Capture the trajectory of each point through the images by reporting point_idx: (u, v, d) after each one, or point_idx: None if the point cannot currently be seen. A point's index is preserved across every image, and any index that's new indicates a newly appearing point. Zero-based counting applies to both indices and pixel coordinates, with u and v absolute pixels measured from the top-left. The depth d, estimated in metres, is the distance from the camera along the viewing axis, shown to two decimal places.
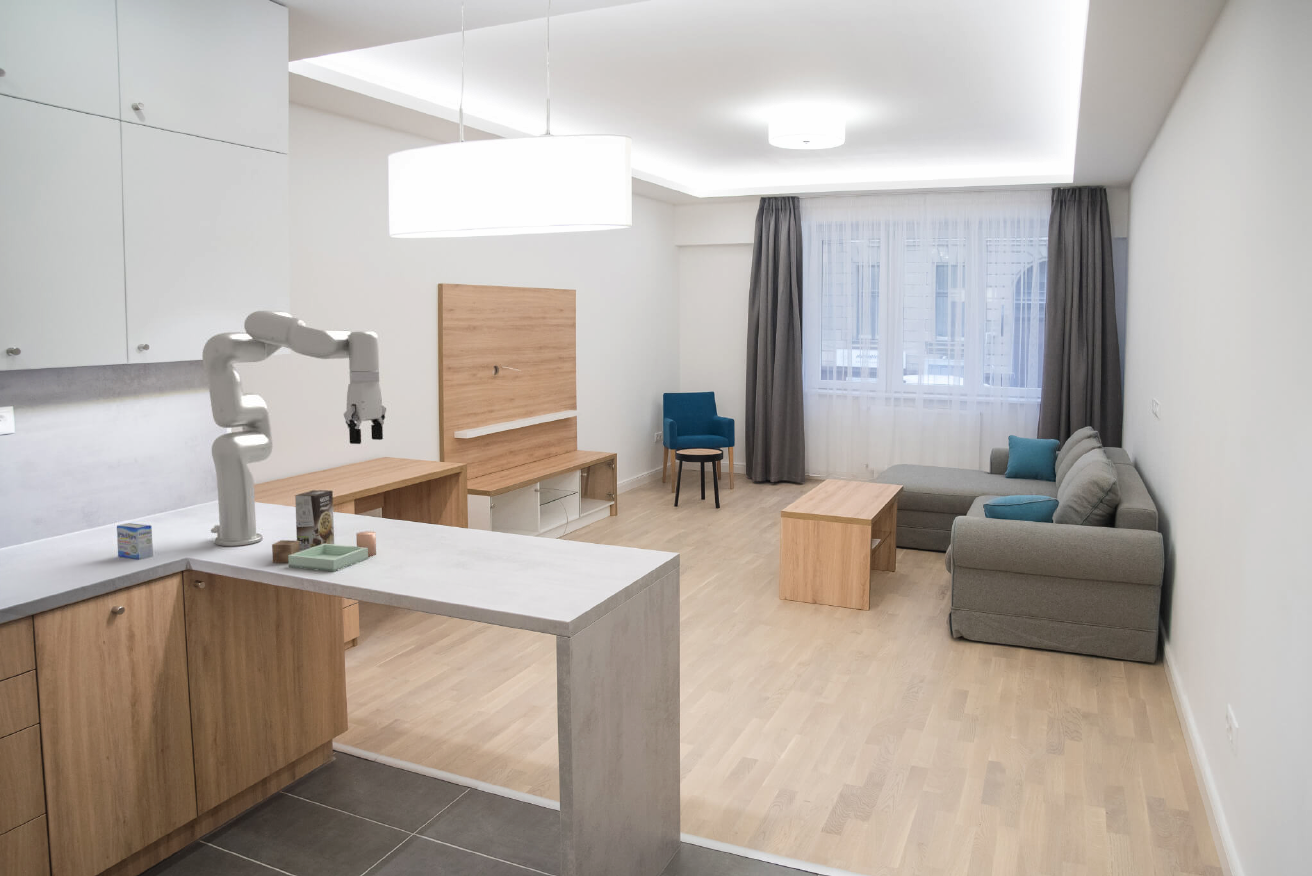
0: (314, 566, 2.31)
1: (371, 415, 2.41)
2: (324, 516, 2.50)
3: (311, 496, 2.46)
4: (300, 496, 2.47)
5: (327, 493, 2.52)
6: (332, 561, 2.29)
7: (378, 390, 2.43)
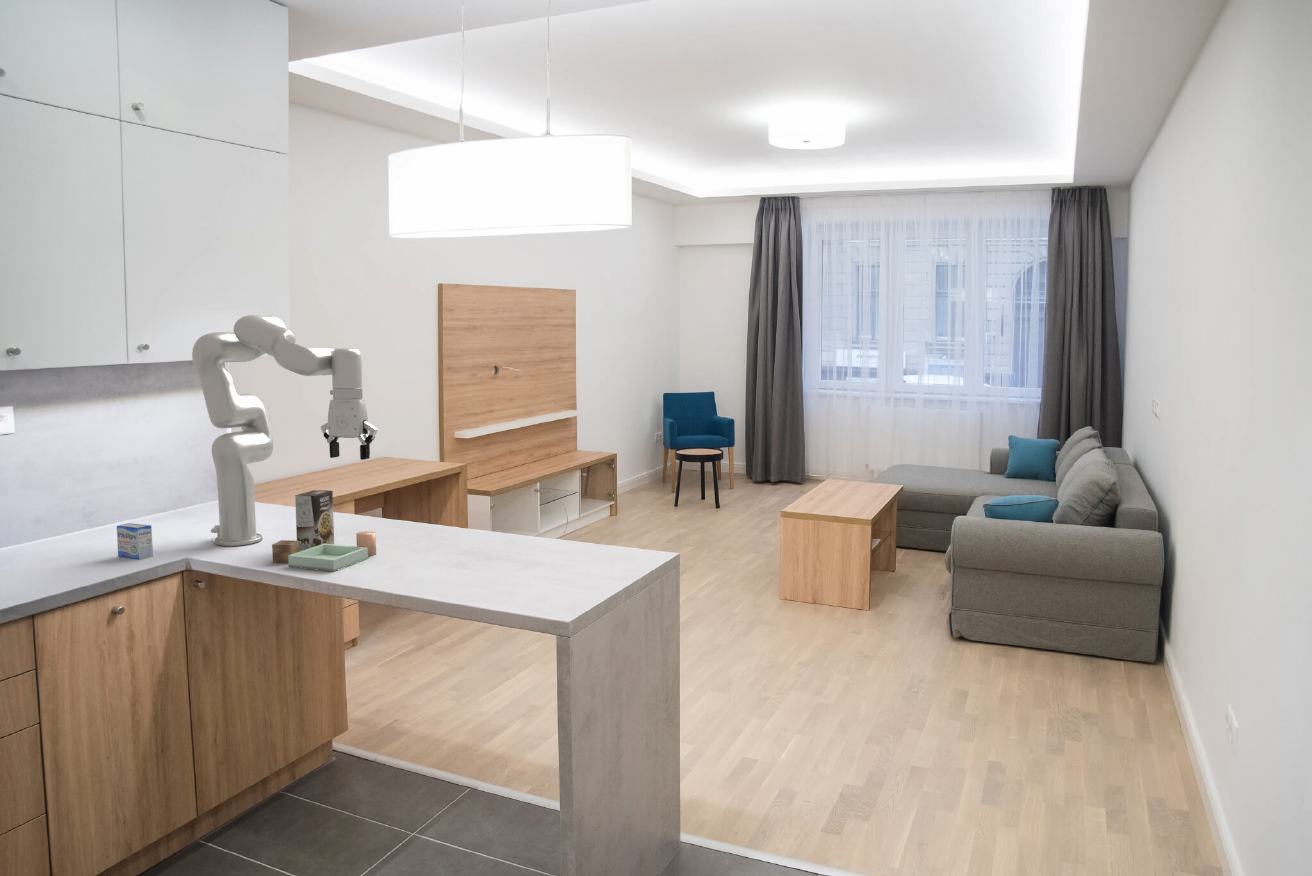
0: (314, 566, 2.31)
1: None
2: (324, 516, 2.50)
3: (311, 496, 2.46)
4: (300, 496, 2.47)
5: (327, 493, 2.52)
6: (332, 561, 2.29)
7: None
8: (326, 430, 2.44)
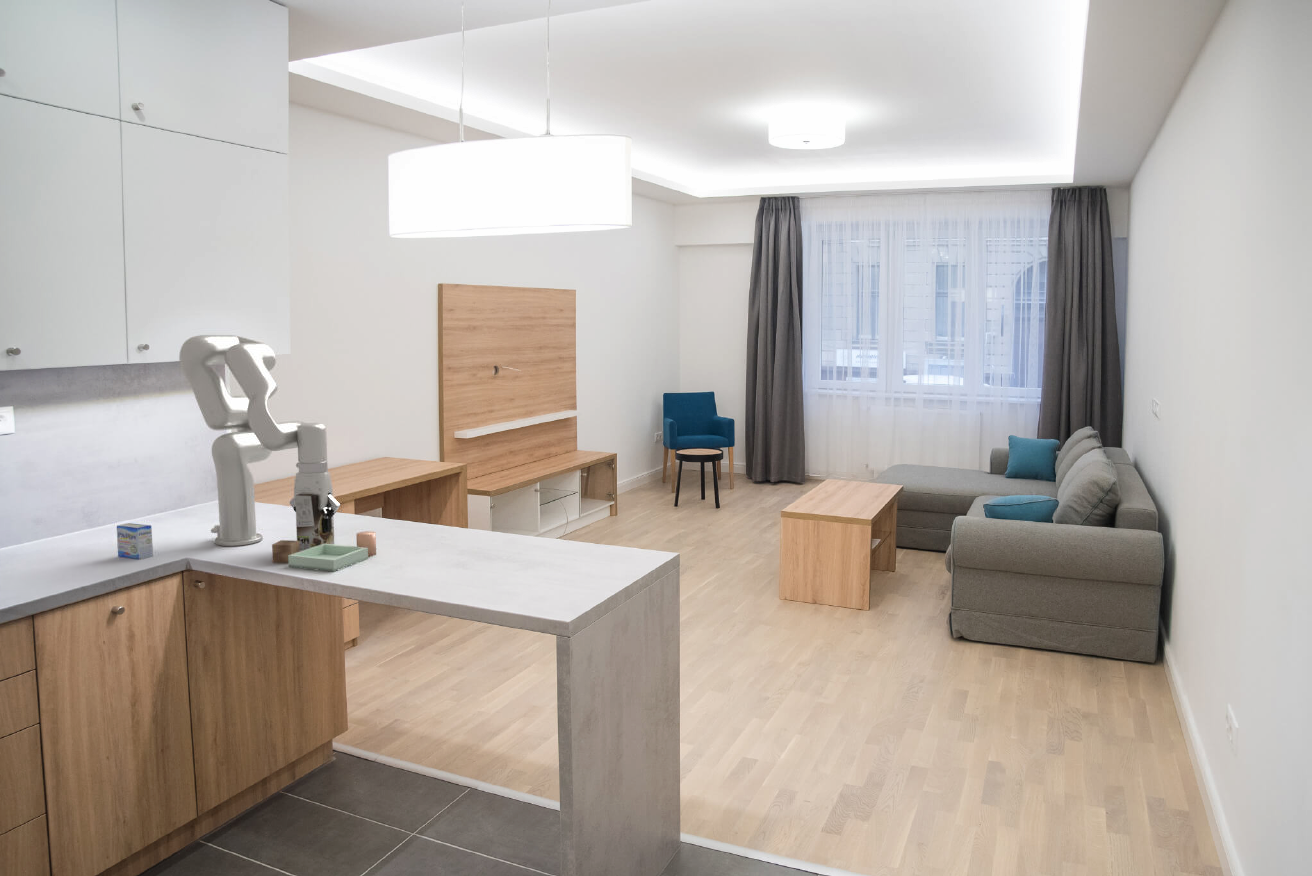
0: (314, 566, 2.31)
1: None
2: None
3: (311, 496, 2.46)
4: (300, 496, 2.47)
5: None
6: (332, 561, 2.29)
7: None
8: None
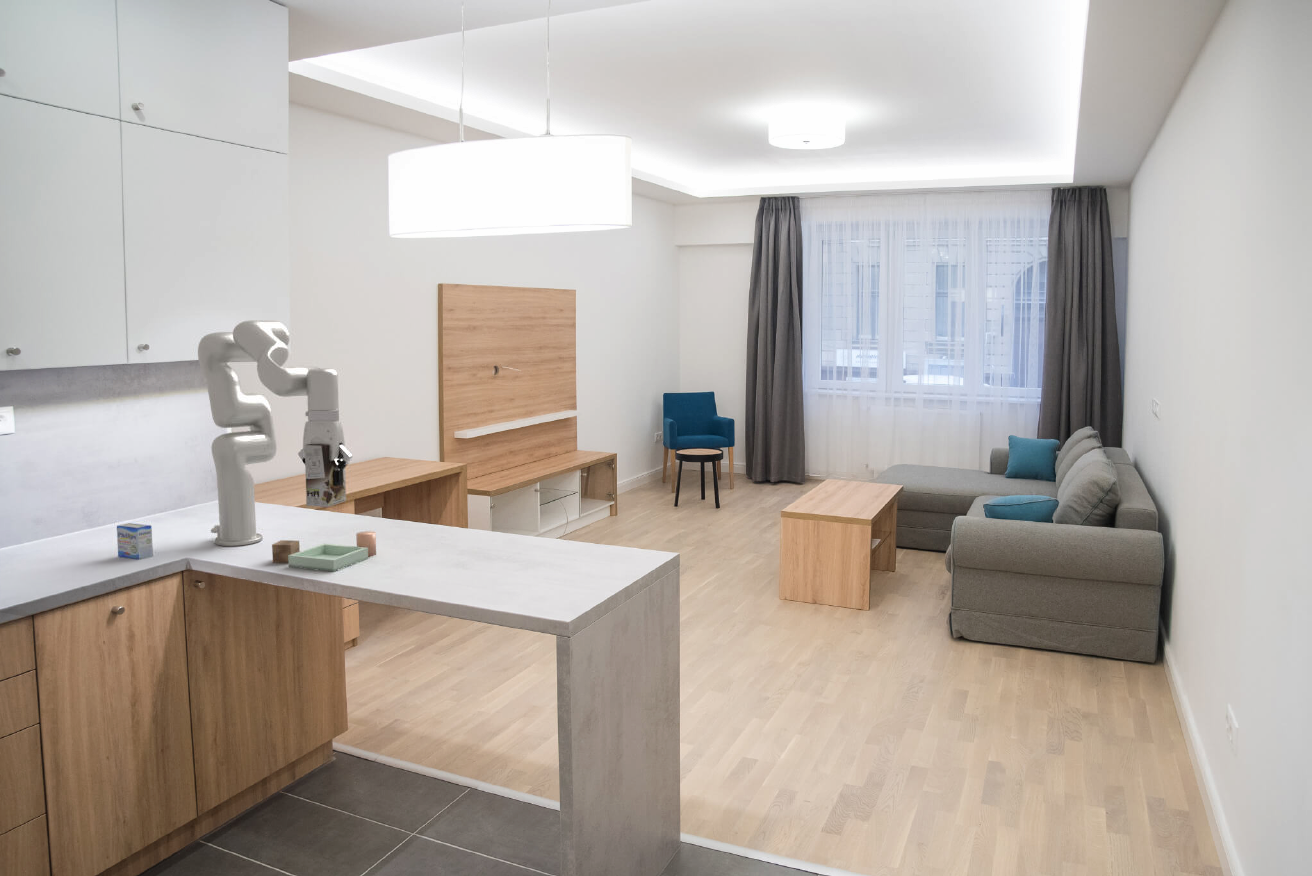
0: (314, 566, 2.31)
1: None
2: None
3: (322, 446, 2.30)
4: (310, 446, 2.30)
5: None
6: (332, 561, 2.29)
7: None
8: (304, 455, 2.36)
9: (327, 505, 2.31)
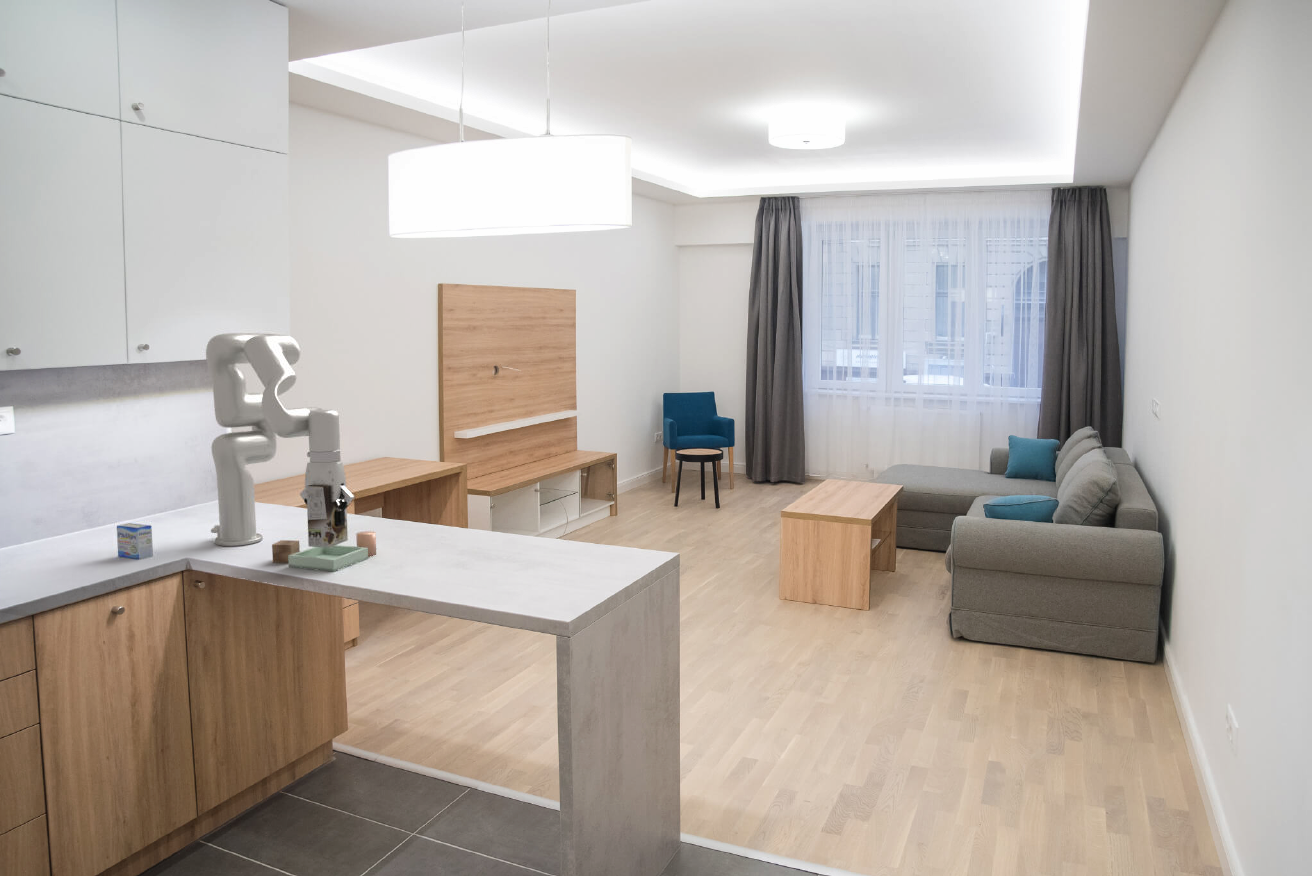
0: (314, 566, 2.31)
1: None
2: None
3: (323, 487, 2.31)
4: (312, 487, 2.32)
5: None
6: (332, 561, 2.29)
7: None
8: None
9: (329, 546, 2.32)
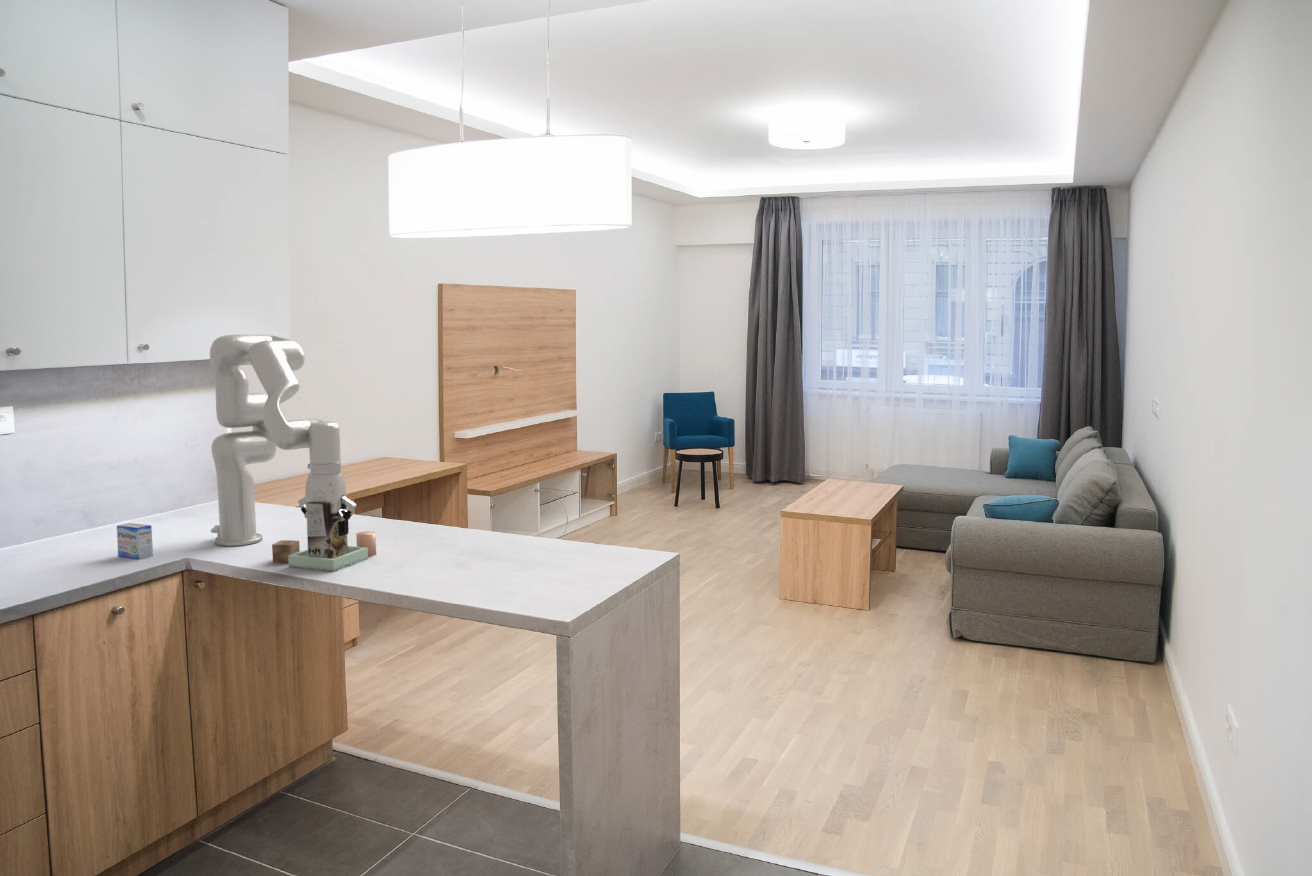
0: (314, 566, 2.31)
1: None
2: (337, 526, 2.36)
3: (323, 504, 2.32)
4: (311, 504, 2.32)
5: None
6: (332, 561, 2.29)
7: None
8: (304, 504, 2.38)
9: None
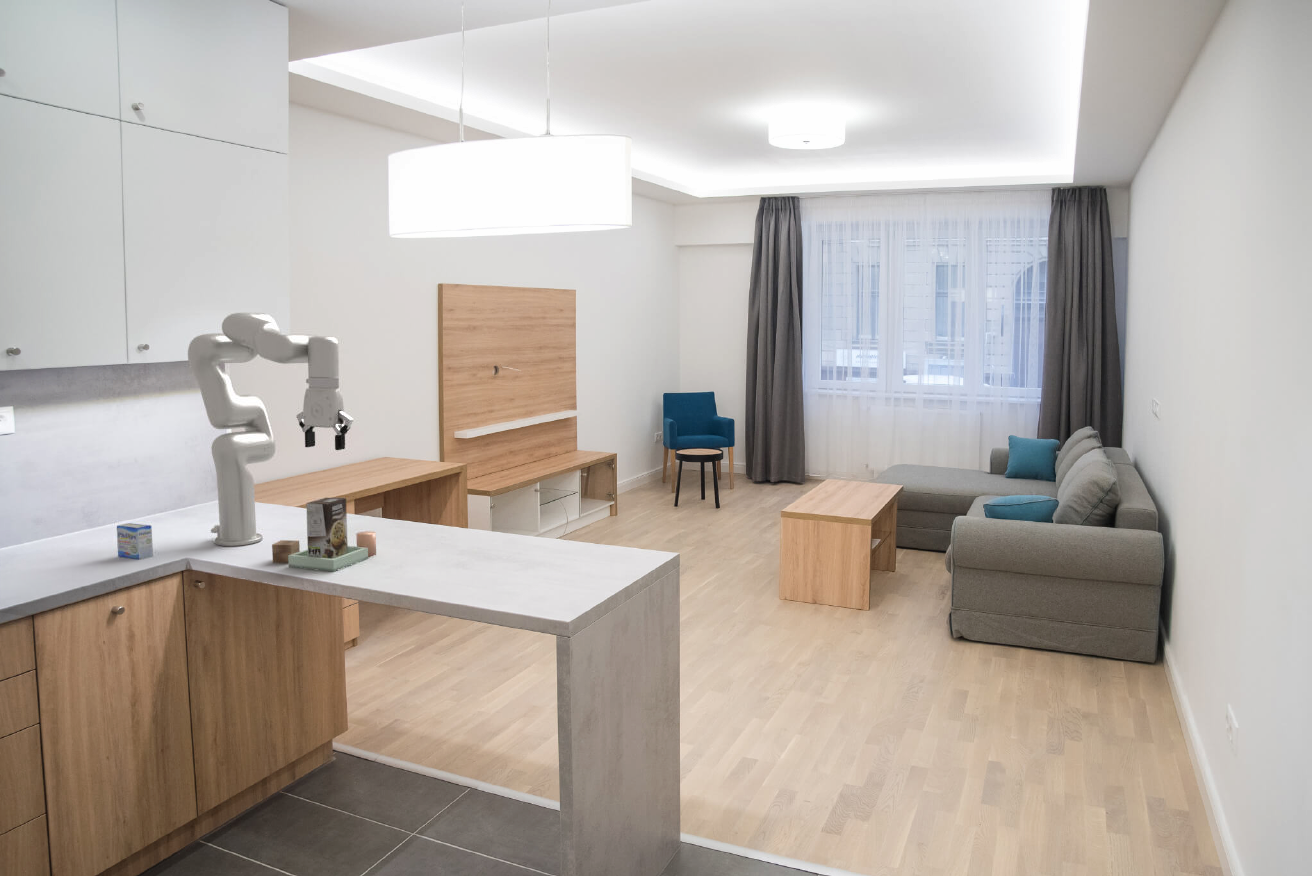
0: (314, 566, 2.31)
1: None
2: (337, 526, 2.36)
3: (323, 504, 2.32)
4: (311, 504, 2.32)
5: (340, 501, 2.37)
6: (332, 561, 2.29)
7: None
8: (302, 419, 2.40)
9: None
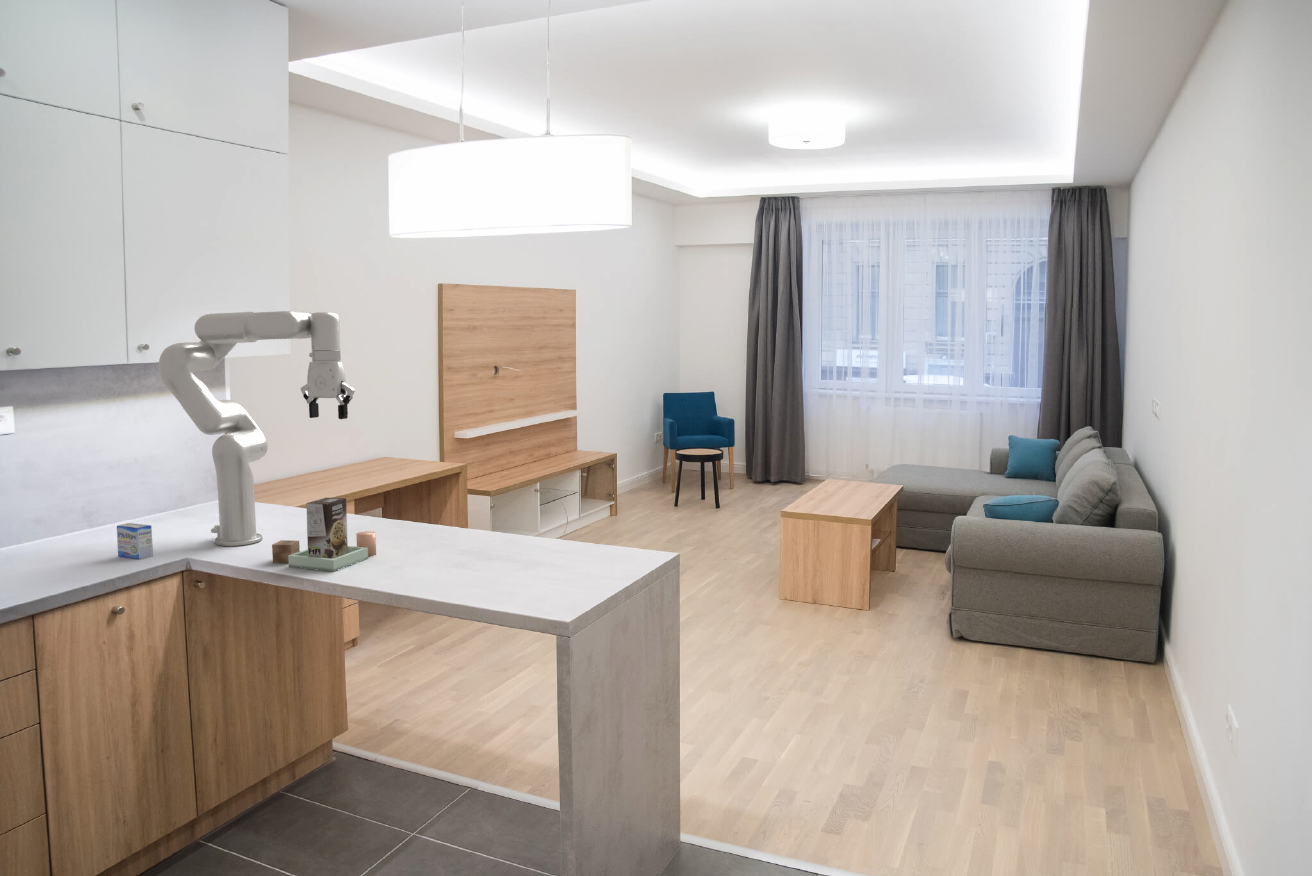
0: (314, 566, 2.31)
1: None
2: (337, 526, 2.36)
3: (323, 504, 2.32)
4: (311, 504, 2.32)
5: (340, 501, 2.37)
6: (332, 561, 2.29)
7: None
8: (306, 391, 2.54)
9: None
